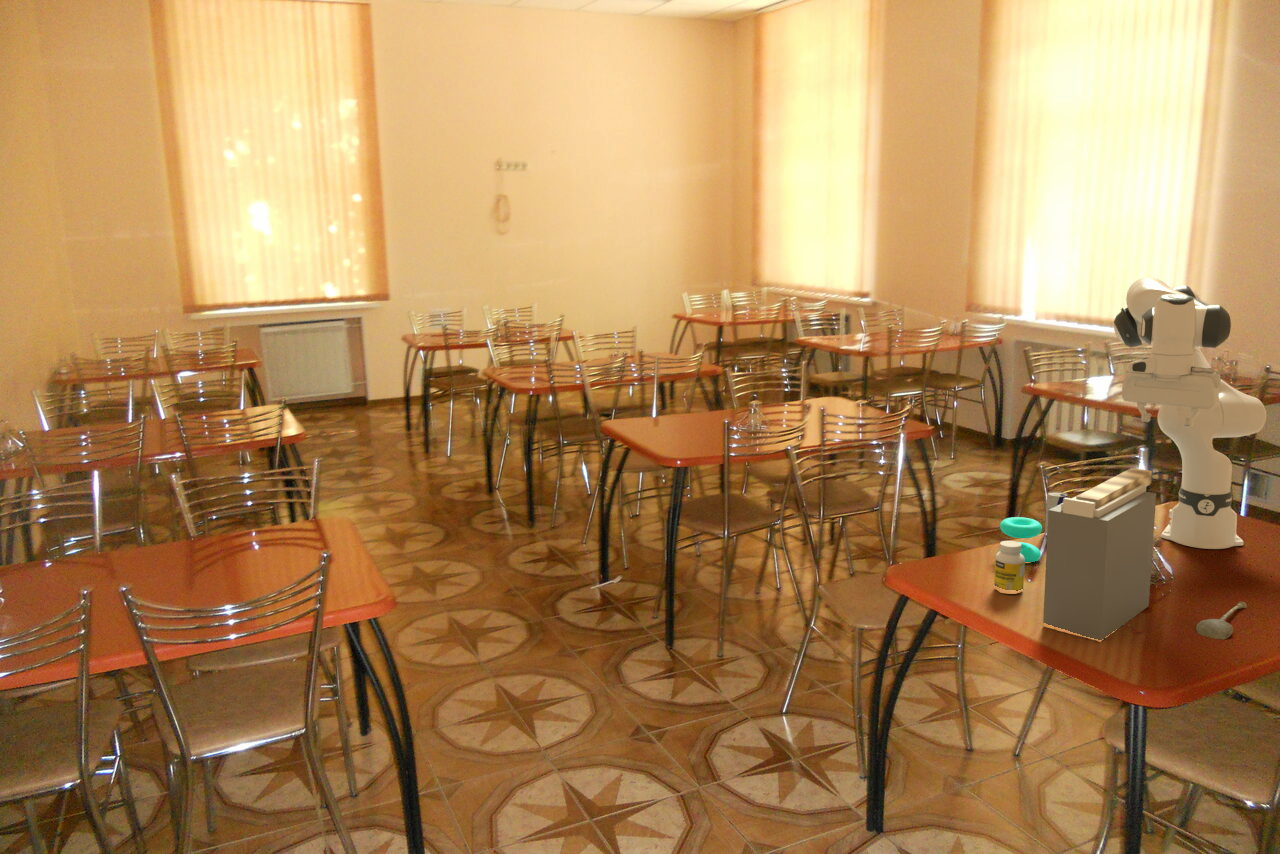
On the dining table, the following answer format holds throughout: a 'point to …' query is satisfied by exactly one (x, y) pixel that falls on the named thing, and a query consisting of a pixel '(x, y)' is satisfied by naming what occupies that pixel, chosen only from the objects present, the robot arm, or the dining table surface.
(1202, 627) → the soupspoon
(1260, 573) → the dining table surface
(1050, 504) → the energy drink
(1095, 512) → the gray open box
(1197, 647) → the dining table surface
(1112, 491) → the wooden bar
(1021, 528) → the donuts
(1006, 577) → the pill bottle
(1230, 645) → the dining table surface
